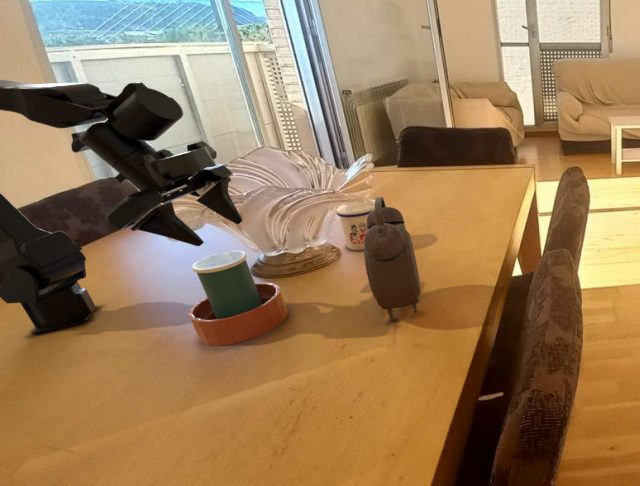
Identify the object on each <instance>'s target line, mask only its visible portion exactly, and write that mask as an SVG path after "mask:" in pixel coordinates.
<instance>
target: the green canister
mask: <svg viewBox="0 0 640 486" xmlns="http://www.w3.org/2000/svg"><path fill="white" fill-rule="evenodd" d="M247 258H248V256H247V253H246V252H244V251H242V250H228V251H224V252H219V253H214V254H211V255H208V256H205V257H203V258H200V259H199V260H197V261H195V262H194V263H193V264H192V265H191V267H192V271H193V272H194V273H196V275H197V277H198V279H199V281H200V283H201V285H202V288H203V291H204V293H205V295H206V298H208V300H209V302H210V304H211V307H212V309H213V311H214V314H215V316H216V318H217V319H223V318H228V317H232V316H236V315H240V314H242V313H245V312H248V311H250V310H253V309H255V308H257V307H259V306H261V305H263V304H262V301H261V298H260V296H259V293H258V291H257V288H256V285H255V283H256V282H255V280H254V277H253V275H252V272H251V270H250V267H249V264H248V261H247Z"/></svg>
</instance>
